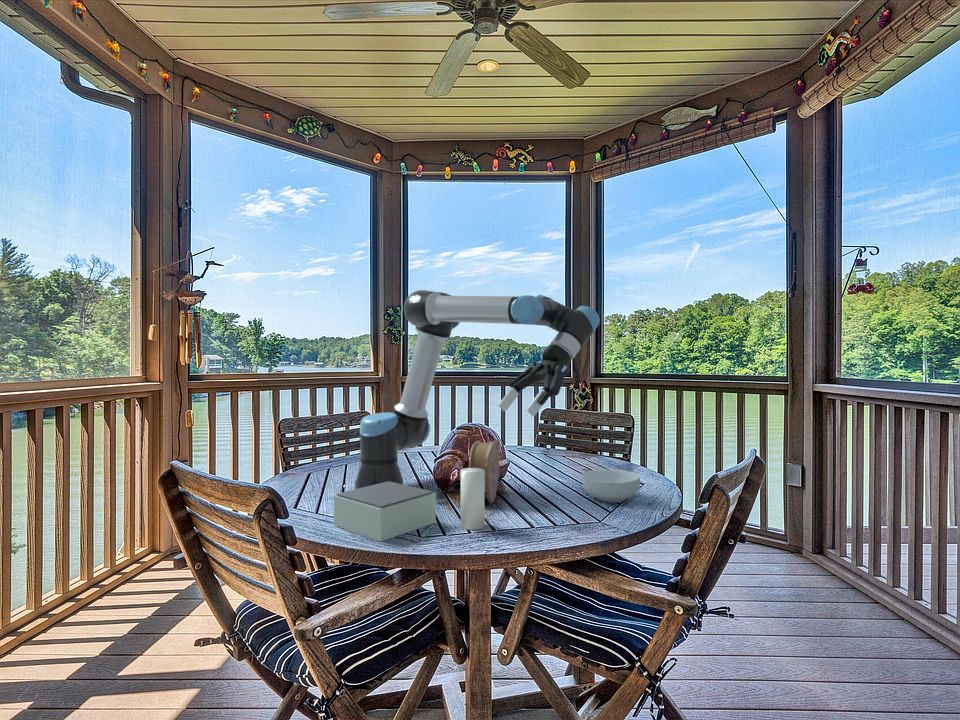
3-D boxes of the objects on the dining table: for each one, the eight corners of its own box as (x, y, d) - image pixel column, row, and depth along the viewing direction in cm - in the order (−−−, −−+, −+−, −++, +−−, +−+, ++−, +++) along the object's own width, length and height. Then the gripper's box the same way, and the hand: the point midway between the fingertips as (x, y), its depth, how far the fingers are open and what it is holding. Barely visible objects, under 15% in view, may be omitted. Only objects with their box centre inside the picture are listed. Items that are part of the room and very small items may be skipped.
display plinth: (334, 525, 138) (333, 493, 138) (389, 509, 152) (389, 480, 152) (380, 541, 127) (380, 507, 126) (435, 522, 140) (435, 491, 140)
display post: (455, 526, 137) (455, 470, 137) (471, 520, 142) (471, 466, 142) (473, 531, 133) (473, 474, 133) (489, 525, 138) (489, 470, 138)
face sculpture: (492, 508, 153) (492, 448, 153) (468, 507, 154) (467, 447, 154) (500, 489, 173) (500, 437, 172) (479, 489, 174) (479, 436, 174)
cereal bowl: (593, 488, 174) (593, 466, 174) (646, 496, 165) (646, 472, 165) (573, 501, 159) (573, 477, 159) (630, 510, 151) (631, 484, 151)
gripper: (598, 362, 142) (552, 425, 134) (541, 361, 163) (499, 415, 156) (582, 342, 139) (534, 404, 132) (526, 343, 161) (482, 397, 153)
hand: (515, 410), depth 144 cm, fingers open, 13 cm apart
